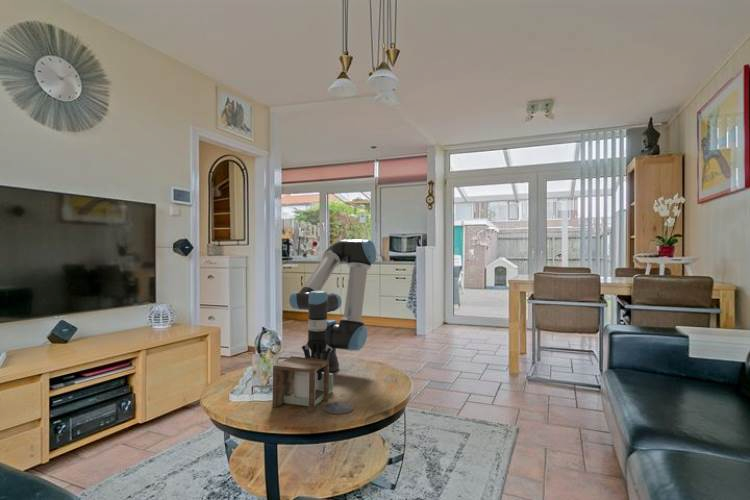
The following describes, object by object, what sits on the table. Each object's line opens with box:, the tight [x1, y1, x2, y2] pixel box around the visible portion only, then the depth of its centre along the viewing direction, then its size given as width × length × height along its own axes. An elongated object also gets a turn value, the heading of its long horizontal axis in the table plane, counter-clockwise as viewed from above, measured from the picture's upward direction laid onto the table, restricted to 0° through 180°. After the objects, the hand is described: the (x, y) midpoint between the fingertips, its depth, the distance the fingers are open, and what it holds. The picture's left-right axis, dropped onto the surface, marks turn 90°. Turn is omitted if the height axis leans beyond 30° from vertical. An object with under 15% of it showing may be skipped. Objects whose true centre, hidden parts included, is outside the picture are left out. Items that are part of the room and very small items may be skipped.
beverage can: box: [294, 371, 316, 398], centre depth 157 cm, size 8×8×12 cm
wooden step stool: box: [271, 355, 330, 414], centre depth 155 cm, size 14×16×15 cm
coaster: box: [323, 401, 355, 415], centre depth 150 cm, size 11×11×1 cm
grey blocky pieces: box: [282, 372, 334, 407], centre depth 162 cm, size 20×12×7 cm, turn 163°
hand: (316, 387), depth 167 cm, fingers closed
